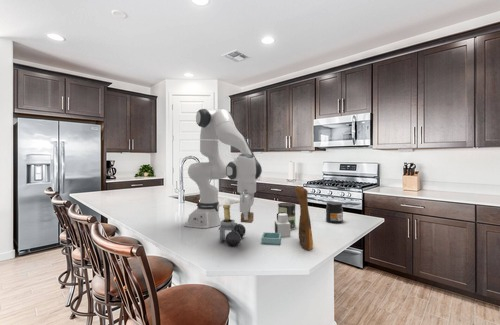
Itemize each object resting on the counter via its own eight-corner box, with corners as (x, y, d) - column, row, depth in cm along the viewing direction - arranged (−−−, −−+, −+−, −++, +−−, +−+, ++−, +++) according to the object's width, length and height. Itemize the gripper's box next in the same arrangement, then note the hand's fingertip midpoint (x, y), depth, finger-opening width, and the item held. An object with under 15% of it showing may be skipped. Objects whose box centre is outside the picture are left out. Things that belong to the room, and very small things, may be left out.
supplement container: (343, 224, 155) (343, 205, 154) (325, 223, 158) (325, 204, 158) (342, 220, 165) (342, 202, 164) (326, 219, 168) (326, 201, 168)
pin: (222, 225, 125) (221, 206, 125) (225, 223, 129) (224, 204, 129) (230, 225, 125) (229, 206, 124) (232, 223, 128) (231, 204, 128)
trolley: (217, 246, 119) (216, 225, 119) (225, 236, 134) (225, 217, 133) (239, 247, 118) (239, 226, 117) (245, 237, 132) (245, 218, 132)
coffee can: (295, 225, 153) (295, 202, 152) (295, 230, 143) (295, 206, 142) (278, 224, 155) (278, 202, 154) (277, 229, 145) (277, 205, 144)
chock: (240, 222, 116) (240, 213, 116) (243, 220, 120) (243, 211, 120) (251, 223, 115) (250, 214, 115) (253, 220, 119) (253, 212, 119)
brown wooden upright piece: (300, 252, 111) (300, 189, 111) (294, 237, 130) (294, 184, 130) (315, 252, 111) (315, 189, 110) (307, 238, 130) (307, 184, 129)
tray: (261, 244, 122) (261, 237, 122) (263, 237, 131) (263, 232, 130) (280, 245, 120) (280, 238, 120) (280, 238, 129) (280, 233, 129)
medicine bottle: (274, 233, 139) (274, 211, 138) (287, 232, 139) (287, 211, 139) (277, 237, 131) (277, 214, 131) (290, 236, 132) (290, 214, 132)
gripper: (250, 191, 106) (250, 224, 107) (255, 186, 127) (256, 213, 127) (235, 191, 107) (236, 223, 108) (243, 185, 128) (243, 212, 128)
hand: (247, 217), depth 118 cm, fingers closed on chock, 4 cm apart
